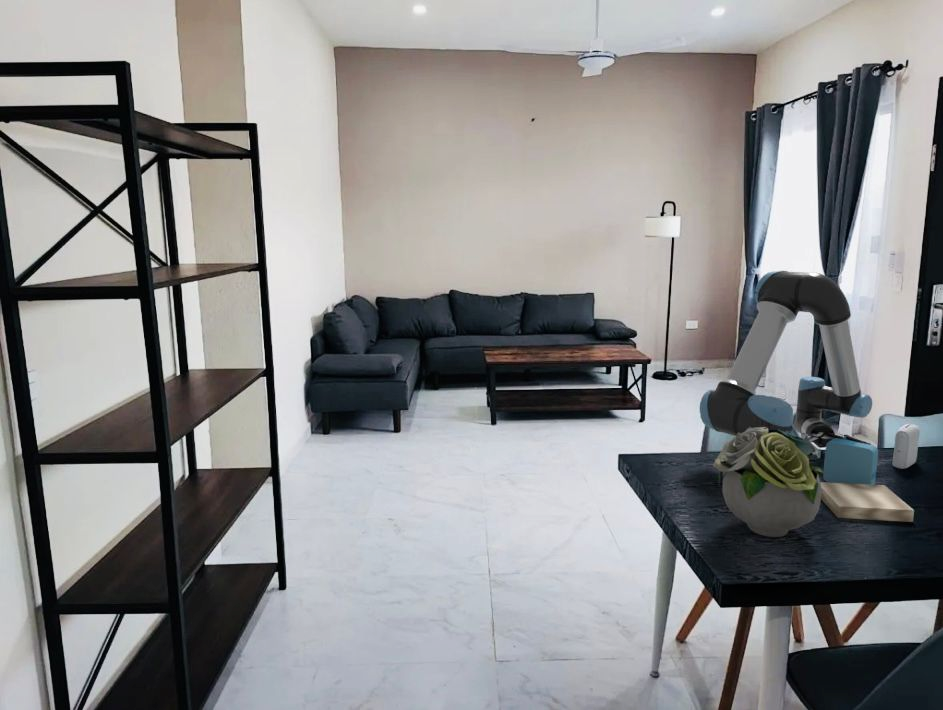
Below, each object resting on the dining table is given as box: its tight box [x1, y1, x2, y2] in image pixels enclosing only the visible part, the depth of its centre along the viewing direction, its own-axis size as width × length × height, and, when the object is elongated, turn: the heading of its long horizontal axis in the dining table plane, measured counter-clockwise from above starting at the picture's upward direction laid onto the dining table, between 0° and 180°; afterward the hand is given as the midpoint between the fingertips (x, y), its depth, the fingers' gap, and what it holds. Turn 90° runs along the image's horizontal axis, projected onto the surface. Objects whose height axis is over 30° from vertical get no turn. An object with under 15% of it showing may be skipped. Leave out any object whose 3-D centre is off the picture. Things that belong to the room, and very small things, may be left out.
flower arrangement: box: [712, 427, 824, 538], centre depth 158 cm, size 25×25×24 cm
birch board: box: [821, 481, 915, 523], centre depth 173 cm, size 17×16×3 cm
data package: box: [822, 438, 879, 485], centre depth 188 cm, size 12×4×12 cm, turn 44°
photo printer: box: [892, 423, 921, 470], centre depth 203 cm, size 10×4×12 cm, turn 130°
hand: (844, 454), depth 194 cm, fingers open, 13 cm apart
